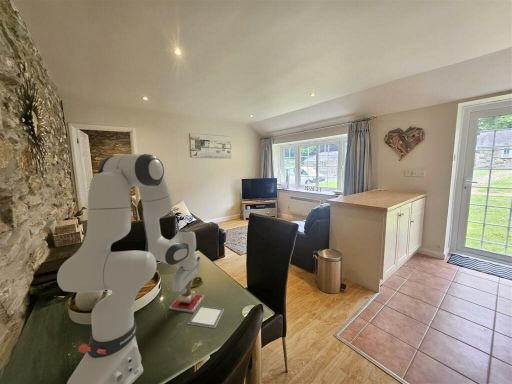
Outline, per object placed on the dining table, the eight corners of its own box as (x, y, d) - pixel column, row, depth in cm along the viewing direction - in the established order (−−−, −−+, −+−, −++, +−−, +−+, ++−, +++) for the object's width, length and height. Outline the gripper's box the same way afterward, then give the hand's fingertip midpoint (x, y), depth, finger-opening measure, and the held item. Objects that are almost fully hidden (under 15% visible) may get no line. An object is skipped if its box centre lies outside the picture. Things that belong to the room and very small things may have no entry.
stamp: (189, 303, 100) (189, 285, 99) (178, 301, 101) (177, 284, 100) (195, 295, 106) (195, 279, 105) (184, 294, 107) (184, 277, 106)
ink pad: (193, 312, 97) (193, 310, 97) (169, 309, 99) (169, 306, 99) (204, 297, 109) (204, 294, 109) (182, 294, 111) (182, 292, 111)
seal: (173, 291, 115) (202, 289, 117) (173, 283, 114) (202, 282, 116) (177, 280, 124) (204, 279, 126) (177, 273, 123) (203, 272, 125)
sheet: (214, 328, 88) (214, 327, 88) (187, 323, 90) (187, 322, 90) (224, 309, 100) (224, 308, 100) (200, 306, 102) (200, 305, 102)
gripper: (181, 273, 91) (182, 304, 93) (201, 254, 111) (201, 279, 113) (168, 272, 92) (168, 302, 94) (190, 253, 112) (190, 278, 114)
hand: (187, 289), depth 103 cm, fingers closed on stamp, 4 cm apart
